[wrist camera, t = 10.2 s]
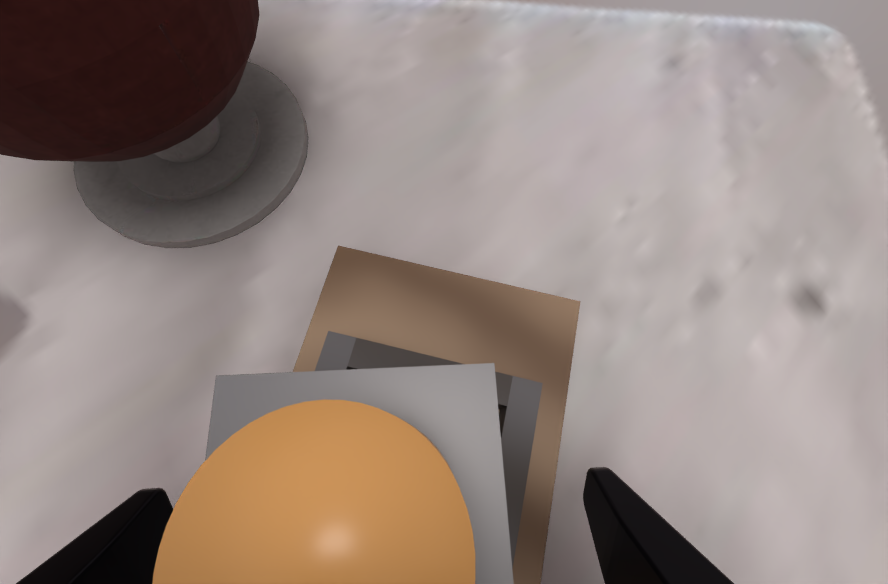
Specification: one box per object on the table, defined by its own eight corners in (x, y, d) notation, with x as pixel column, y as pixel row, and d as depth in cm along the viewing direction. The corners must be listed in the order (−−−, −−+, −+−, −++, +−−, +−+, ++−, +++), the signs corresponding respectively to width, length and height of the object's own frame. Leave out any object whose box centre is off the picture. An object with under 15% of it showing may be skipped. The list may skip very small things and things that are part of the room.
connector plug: (465, 527, 17) (571, 854, 4) (351, 533, 17) (22, 900, 3) (458, 410, 18) (515, 334, 5) (354, 415, 18) (130, 351, 5)
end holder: (505, 774, 15) (520, 852, 12) (192, 678, 16) (139, 731, 13) (573, 307, 21) (595, 287, 18) (342, 254, 22) (328, 226, 19)
